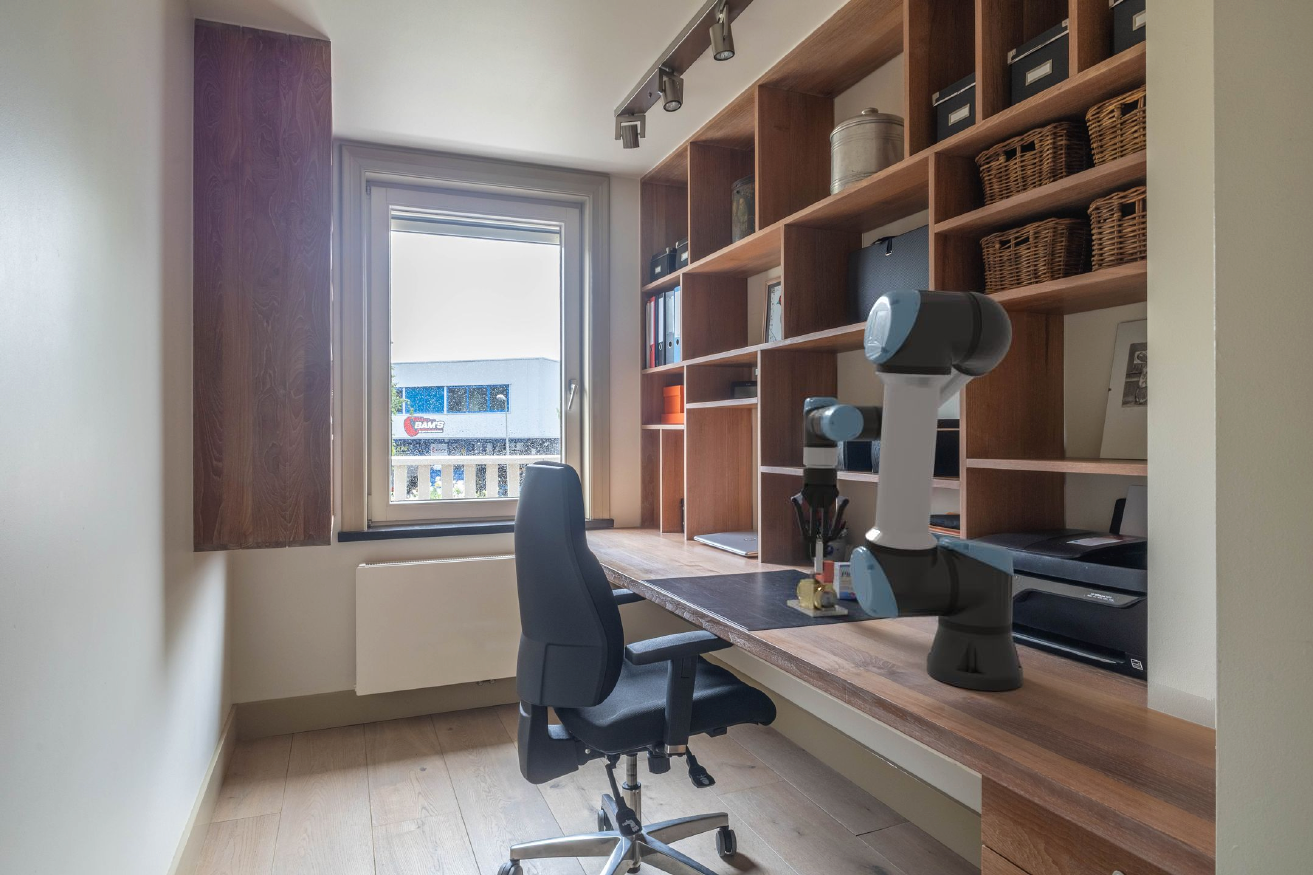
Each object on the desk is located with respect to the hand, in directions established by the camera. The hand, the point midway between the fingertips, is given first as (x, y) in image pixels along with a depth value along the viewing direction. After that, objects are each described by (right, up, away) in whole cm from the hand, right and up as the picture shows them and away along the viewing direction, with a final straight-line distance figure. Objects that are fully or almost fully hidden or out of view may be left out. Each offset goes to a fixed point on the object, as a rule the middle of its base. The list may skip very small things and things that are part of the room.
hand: (818, 571), depth 164 cm
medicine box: (+13, -10, +20) cm, 26 cm away
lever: (+2, -3, +4) cm, 5 cm away
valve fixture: (+1, -10, +7) cm, 13 cm away
